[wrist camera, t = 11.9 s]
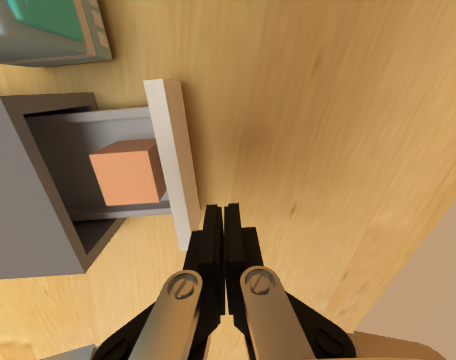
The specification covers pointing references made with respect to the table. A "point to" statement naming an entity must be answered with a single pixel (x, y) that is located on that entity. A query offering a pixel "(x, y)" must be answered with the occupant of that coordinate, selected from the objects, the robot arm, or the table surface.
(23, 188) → the housing
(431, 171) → the table surface
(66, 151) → the light grey drawer
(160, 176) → the block
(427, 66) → the table surface
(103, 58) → the radio
